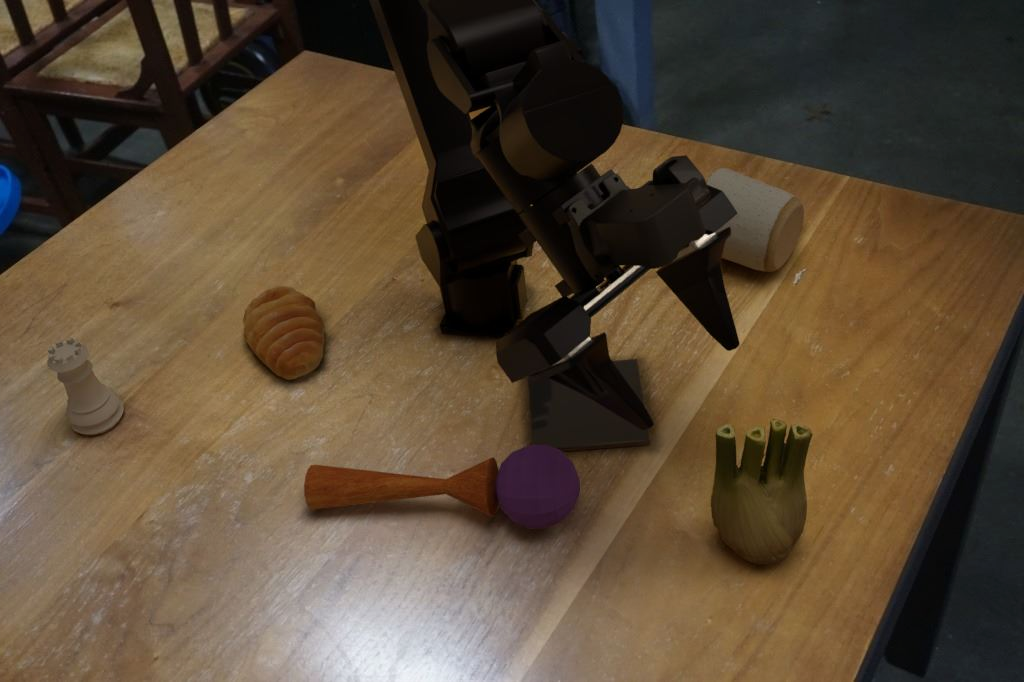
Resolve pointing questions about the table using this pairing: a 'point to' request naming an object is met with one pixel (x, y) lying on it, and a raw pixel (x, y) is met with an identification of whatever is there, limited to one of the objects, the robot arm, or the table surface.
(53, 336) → the table surface
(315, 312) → the pastry
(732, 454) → the fennel bulb
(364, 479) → the kendama
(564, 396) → the slate coaster
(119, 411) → the rook chess piece
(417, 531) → the table surface
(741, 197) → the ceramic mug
